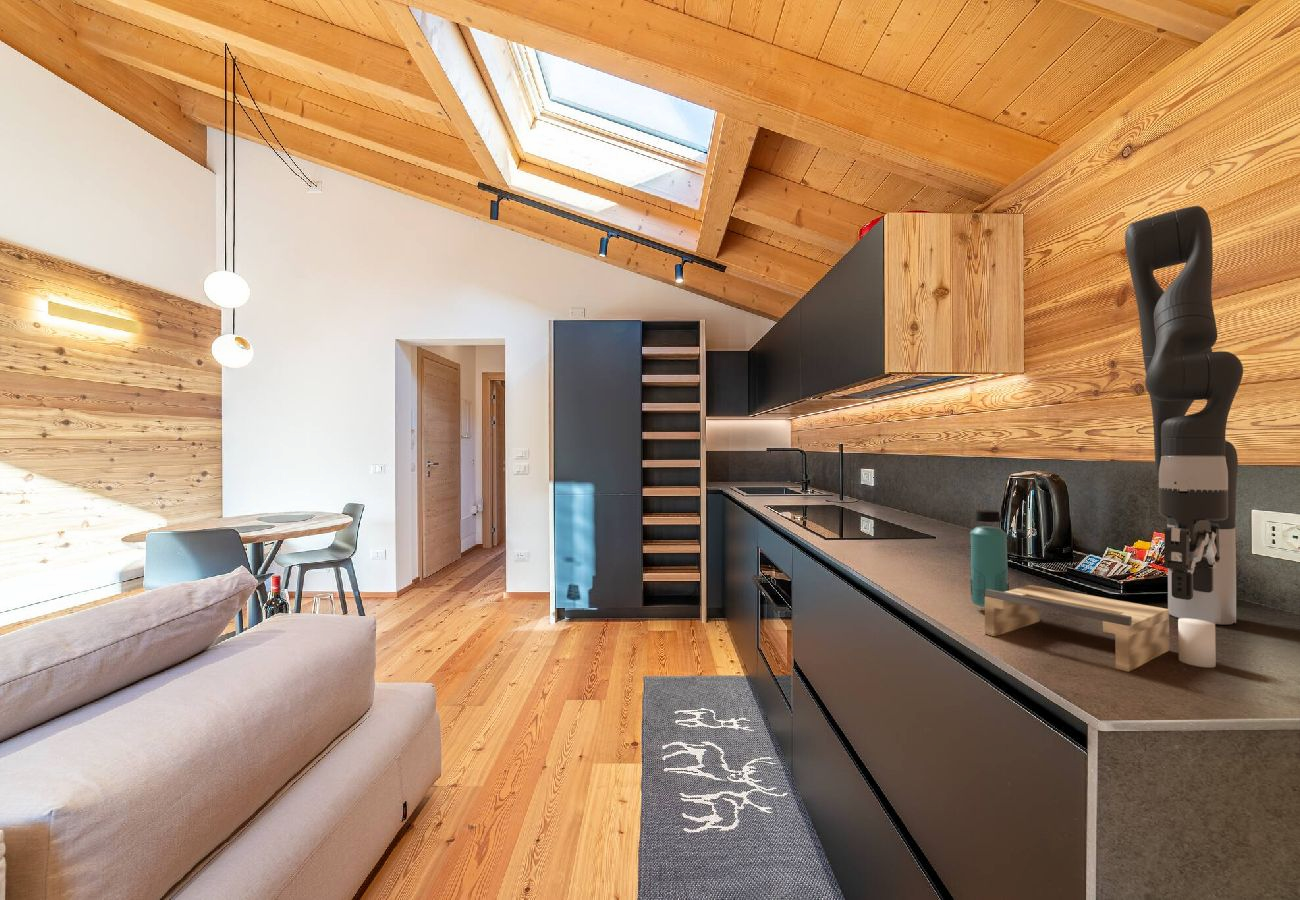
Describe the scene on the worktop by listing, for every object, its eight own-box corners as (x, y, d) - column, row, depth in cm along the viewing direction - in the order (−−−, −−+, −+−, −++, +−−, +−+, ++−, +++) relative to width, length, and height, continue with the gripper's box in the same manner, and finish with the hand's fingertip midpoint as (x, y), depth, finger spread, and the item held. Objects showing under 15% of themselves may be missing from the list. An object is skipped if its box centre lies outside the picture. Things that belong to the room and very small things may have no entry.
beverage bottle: (1015, 617, 109) (1013, 512, 109) (976, 615, 110) (975, 511, 110) (1001, 607, 115) (1000, 508, 115) (965, 606, 117) (964, 508, 117)
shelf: (1030, 619, 107) (1030, 578, 107) (1169, 650, 90) (1168, 601, 90) (984, 634, 99) (984, 589, 99) (1128, 671, 82) (1127, 618, 82)
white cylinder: (1183, 655, 88) (1183, 616, 88) (1219, 663, 85) (1219, 623, 85) (1174, 660, 86) (1174, 621, 86) (1210, 669, 83) (1210, 627, 83)
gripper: (1177, 484, 93) (1177, 584, 92) (1141, 486, 85) (1142, 595, 85) (1242, 486, 86) (1242, 594, 86) (1210, 488, 79) (1210, 607, 79)
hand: (1192, 595), depth 85 cm, fingers open, 8 cm apart
